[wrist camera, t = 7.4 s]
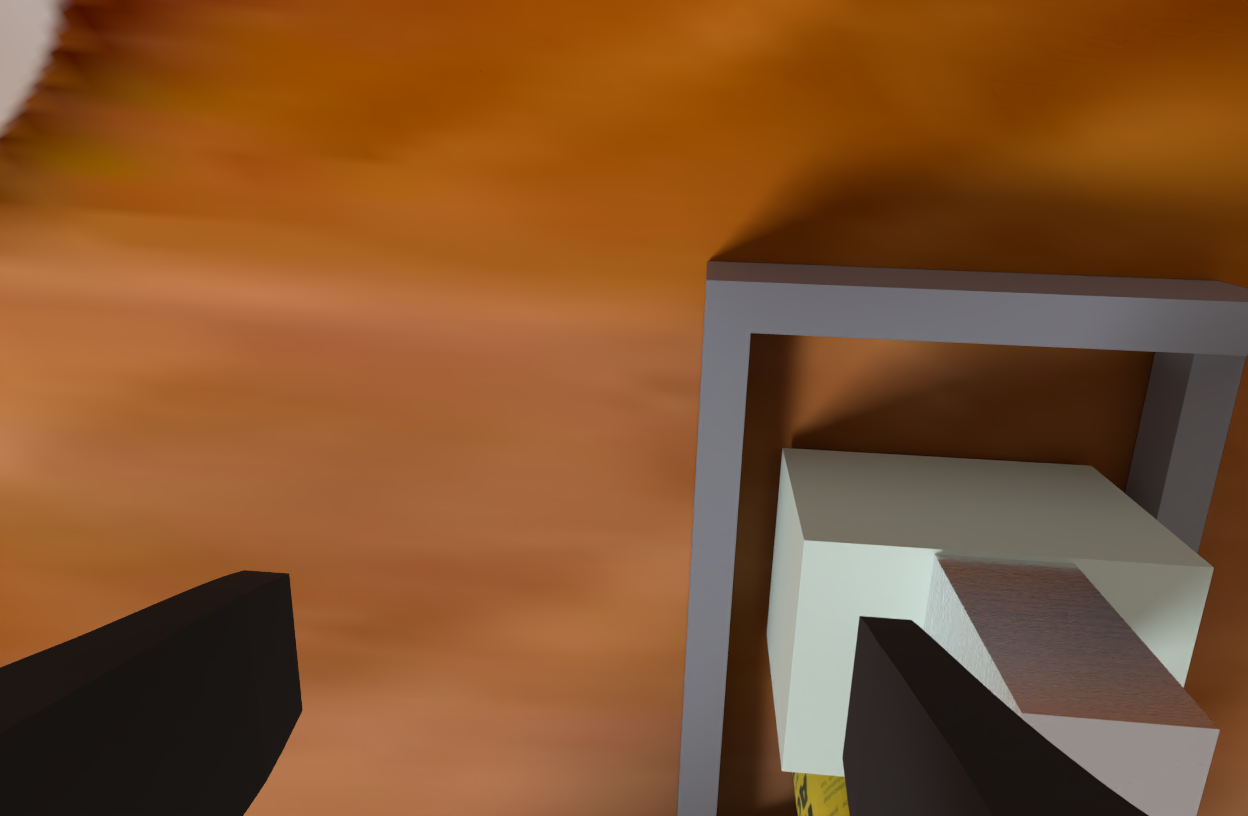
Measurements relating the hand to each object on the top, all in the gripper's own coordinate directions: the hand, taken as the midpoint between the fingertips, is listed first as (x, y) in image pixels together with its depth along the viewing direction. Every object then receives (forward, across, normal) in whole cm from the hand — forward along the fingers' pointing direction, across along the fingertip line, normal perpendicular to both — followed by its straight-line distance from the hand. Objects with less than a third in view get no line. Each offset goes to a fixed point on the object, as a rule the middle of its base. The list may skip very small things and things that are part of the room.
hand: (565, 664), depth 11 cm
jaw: (+10, -7, +3) cm, 13 cm away
